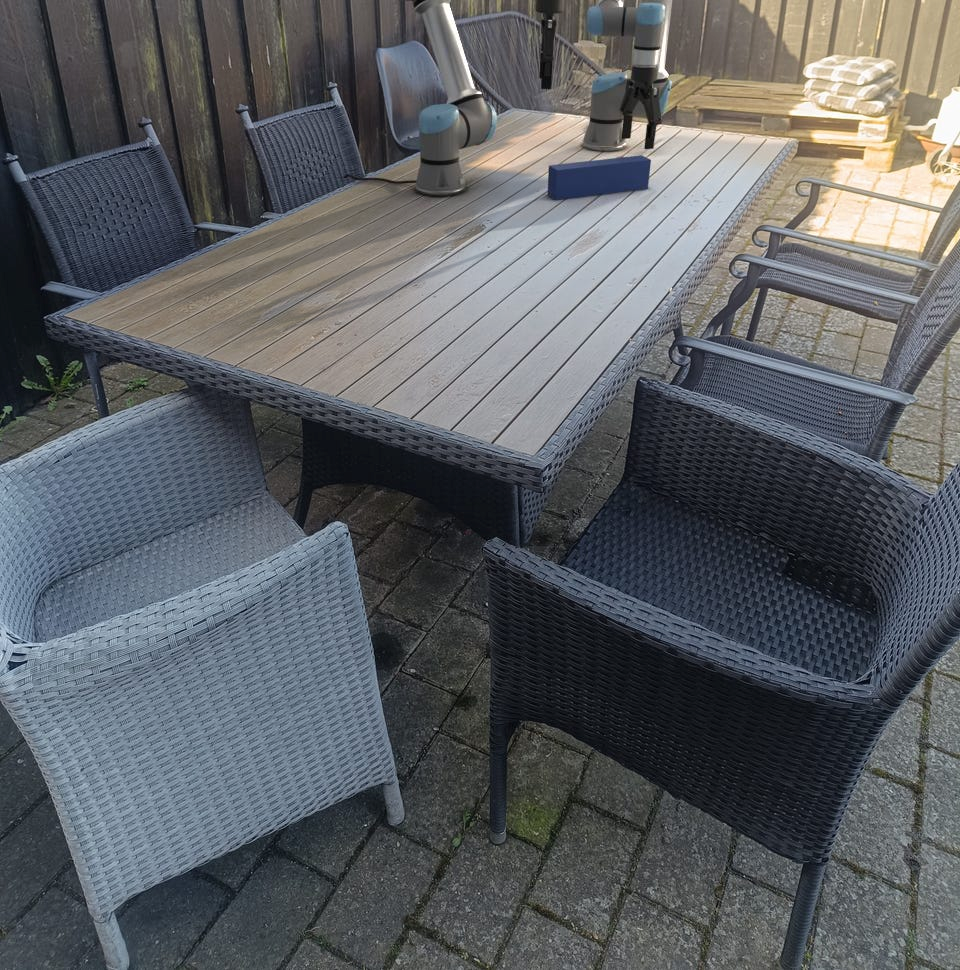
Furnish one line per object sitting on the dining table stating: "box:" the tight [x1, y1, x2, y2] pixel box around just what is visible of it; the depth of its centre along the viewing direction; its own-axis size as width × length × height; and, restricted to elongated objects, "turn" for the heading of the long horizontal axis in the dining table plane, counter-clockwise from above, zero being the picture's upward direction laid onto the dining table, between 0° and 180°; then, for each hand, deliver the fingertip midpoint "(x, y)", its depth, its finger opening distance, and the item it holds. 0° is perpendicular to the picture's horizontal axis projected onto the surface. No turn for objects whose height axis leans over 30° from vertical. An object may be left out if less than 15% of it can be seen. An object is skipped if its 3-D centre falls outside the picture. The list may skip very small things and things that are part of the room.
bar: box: [546, 154, 652, 201], centre depth 254 cm, size 32×6×9 cm, turn 111°
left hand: (545, 83), depth 232 cm, fingers open, 13 cm apart
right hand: (637, 143), depth 253 cm, fingers open, 13 cm apart
